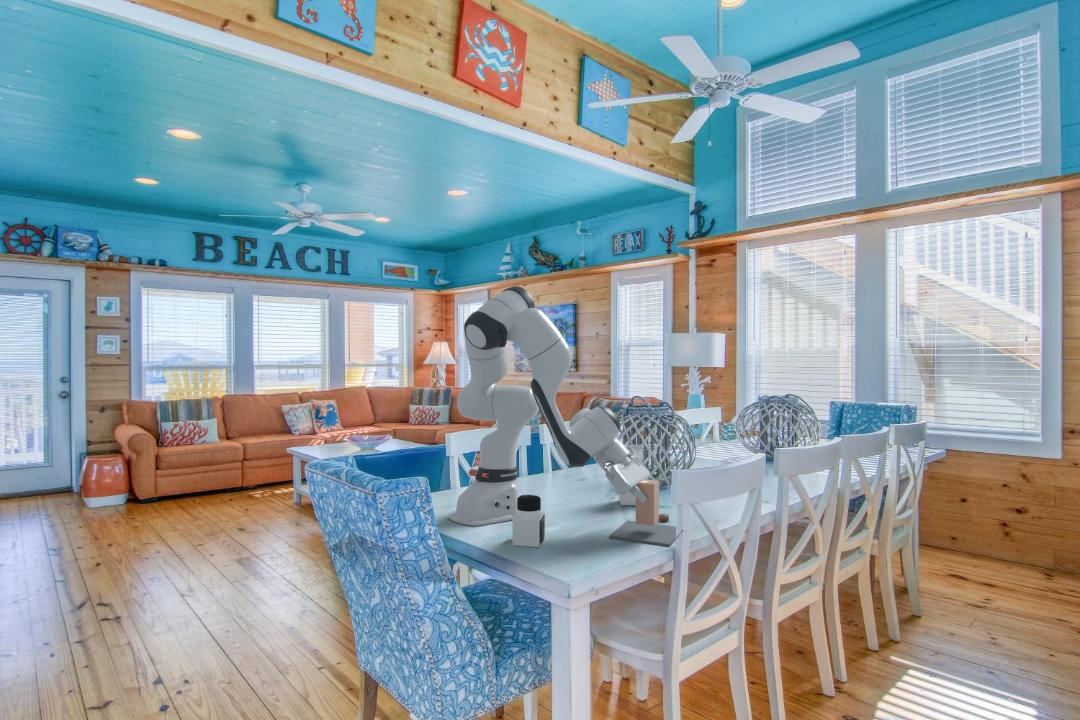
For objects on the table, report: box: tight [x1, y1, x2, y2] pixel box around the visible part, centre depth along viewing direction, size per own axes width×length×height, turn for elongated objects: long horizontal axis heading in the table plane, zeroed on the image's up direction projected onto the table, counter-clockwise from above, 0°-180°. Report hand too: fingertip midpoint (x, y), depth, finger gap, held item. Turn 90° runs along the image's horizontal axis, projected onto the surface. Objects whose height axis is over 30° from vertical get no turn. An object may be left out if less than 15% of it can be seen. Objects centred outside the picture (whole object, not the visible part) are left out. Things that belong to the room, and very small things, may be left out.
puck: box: [659, 513, 670, 523], centre depth 172 cm, size 3×3×2 cm
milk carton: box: [618, 444, 644, 506], centre depth 193 cm, size 7×7×19 cm
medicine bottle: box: [512, 493, 546, 548], centre depth 151 cm, size 7×7×12 cm
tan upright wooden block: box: [635, 479, 660, 526], centre depth 159 cm, size 5×5×11 cm
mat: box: [608, 520, 677, 547], centre depth 159 cm, size 16×16×1 cm
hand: (649, 498), depth 159 cm, fingers closed on tan upright wooden block, 5 cm apart
